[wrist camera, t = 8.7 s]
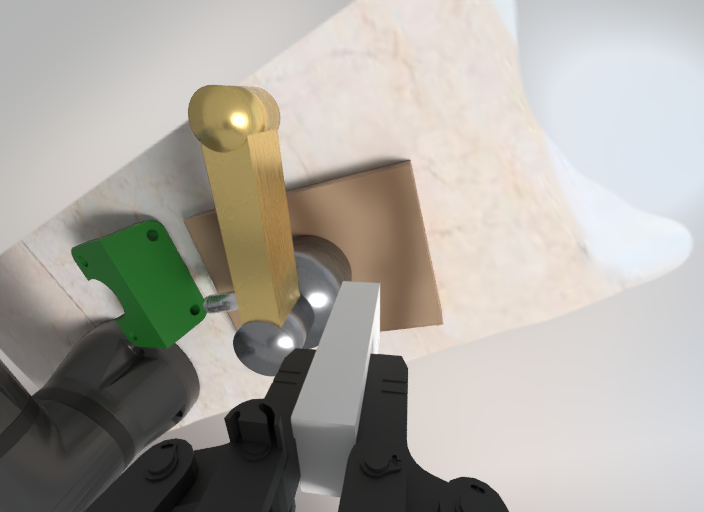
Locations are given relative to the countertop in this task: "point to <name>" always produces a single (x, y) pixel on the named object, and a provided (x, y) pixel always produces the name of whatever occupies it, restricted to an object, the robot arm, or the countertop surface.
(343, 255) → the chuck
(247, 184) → the yellow bar
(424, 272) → the stand
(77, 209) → the countertop surface
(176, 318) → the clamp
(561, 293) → the countertop surface
